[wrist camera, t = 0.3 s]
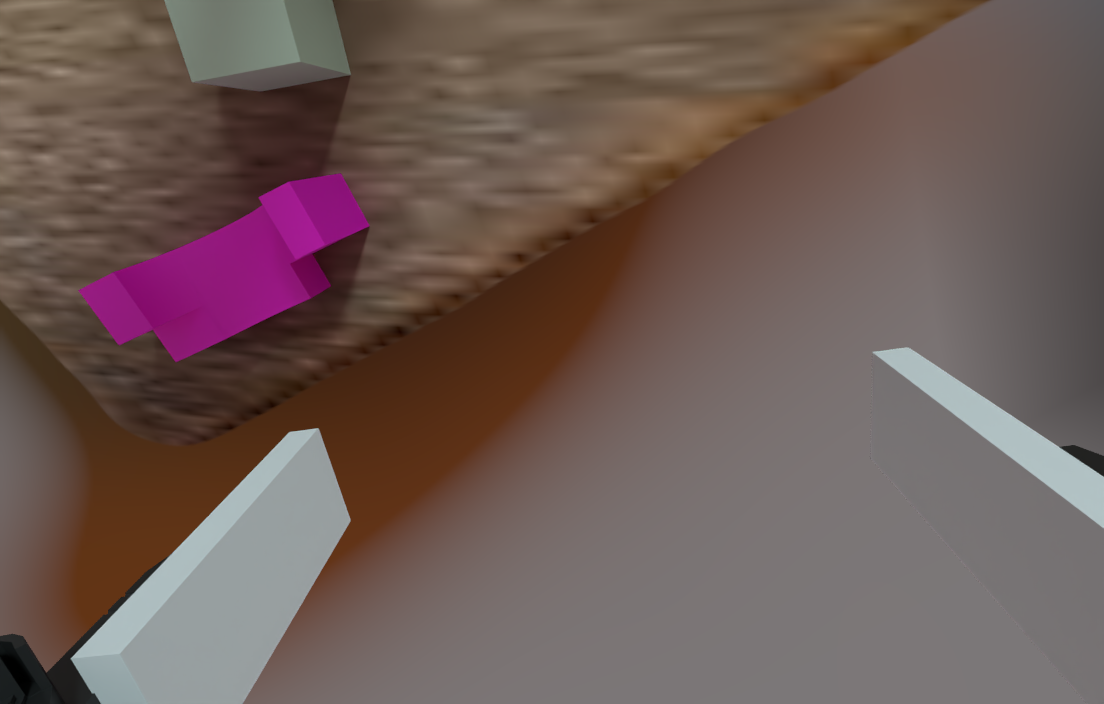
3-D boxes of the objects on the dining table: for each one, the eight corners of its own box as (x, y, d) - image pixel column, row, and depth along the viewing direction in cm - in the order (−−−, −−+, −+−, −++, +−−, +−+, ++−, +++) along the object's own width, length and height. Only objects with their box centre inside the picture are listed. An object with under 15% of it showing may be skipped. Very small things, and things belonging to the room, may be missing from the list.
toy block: (215, 340, 43) (144, 380, 36) (163, 264, 41) (78, 290, 34) (388, 258, 40) (348, 284, 33) (341, 173, 39) (288, 181, 32)
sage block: (228, -17, 35) (146, -52, 28) (323, -36, 34) (262, -77, 28) (260, 91, 37) (191, 82, 30) (351, 75, 36) (300, 61, 30)
